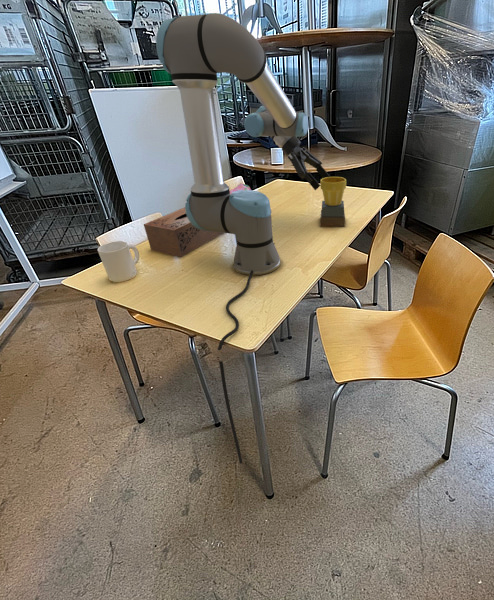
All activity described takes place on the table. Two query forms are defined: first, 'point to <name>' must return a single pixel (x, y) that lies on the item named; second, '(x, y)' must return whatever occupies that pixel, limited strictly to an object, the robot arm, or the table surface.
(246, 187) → the pencil case
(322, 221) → the base block
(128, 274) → the mug
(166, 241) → the tissue box cover
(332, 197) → the flower pot
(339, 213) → the top block
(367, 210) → the table surface
